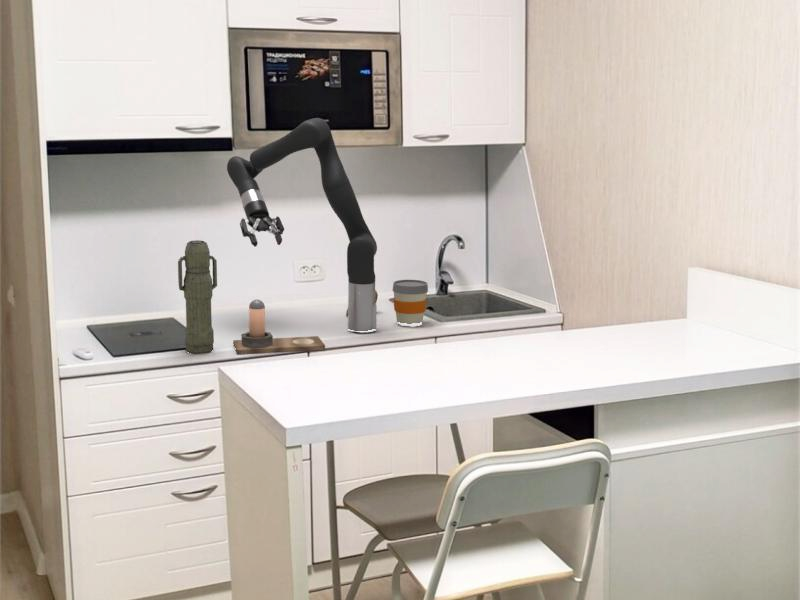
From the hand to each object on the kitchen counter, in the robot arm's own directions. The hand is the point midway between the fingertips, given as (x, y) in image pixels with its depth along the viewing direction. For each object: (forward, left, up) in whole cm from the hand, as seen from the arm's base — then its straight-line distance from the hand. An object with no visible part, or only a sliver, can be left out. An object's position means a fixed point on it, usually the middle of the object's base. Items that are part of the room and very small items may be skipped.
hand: (268, 244), depth 334 cm
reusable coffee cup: (-51, -3, -31) cm, 59 cm away
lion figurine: (-37, -21, -31) cm, 53 cm away
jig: (-1, +19, -31) cm, 36 cm away
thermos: (+24, +18, -31) cm, 43 cm away
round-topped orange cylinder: (+6, +19, -29) cm, 35 cm away
